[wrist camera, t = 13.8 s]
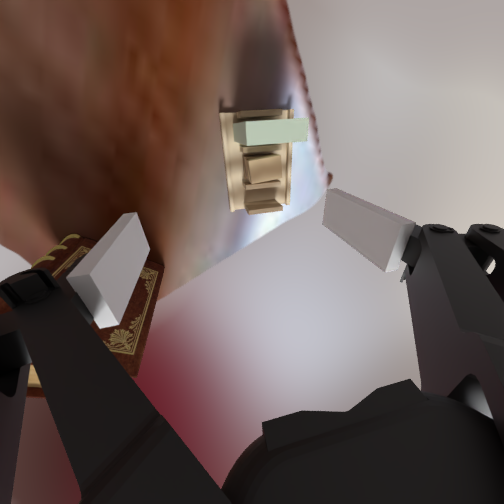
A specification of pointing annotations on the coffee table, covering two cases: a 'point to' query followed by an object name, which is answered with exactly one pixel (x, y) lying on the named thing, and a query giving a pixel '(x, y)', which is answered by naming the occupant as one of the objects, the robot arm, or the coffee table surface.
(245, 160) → the tan wooden block
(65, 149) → the coffee table surface
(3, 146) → the coffee table surface
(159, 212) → the coffee table surface
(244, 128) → the sage board
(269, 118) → the rack
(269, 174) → the offcut oak
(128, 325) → the decorative book
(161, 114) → the coffee table surface
